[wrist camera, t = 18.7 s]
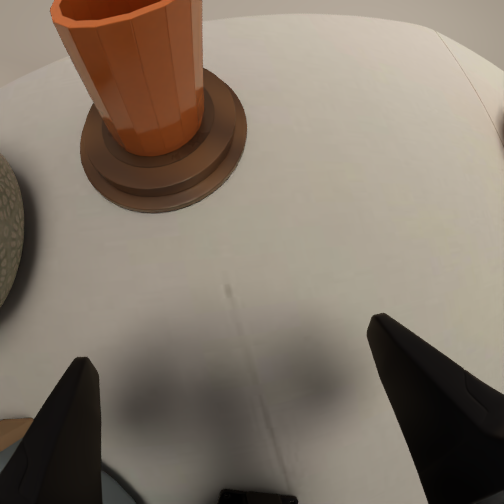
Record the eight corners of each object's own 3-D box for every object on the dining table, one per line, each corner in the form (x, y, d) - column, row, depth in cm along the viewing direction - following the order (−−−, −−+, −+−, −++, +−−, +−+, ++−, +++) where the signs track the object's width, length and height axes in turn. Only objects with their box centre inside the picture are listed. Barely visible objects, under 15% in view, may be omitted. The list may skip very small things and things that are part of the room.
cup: (223, 107, 22) (234, -32, 10) (158, 175, 21) (107, 46, 8) (156, 68, 22) (135, -56, 10) (93, 127, 21) (28, 11, 9)
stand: (219, 233, 23) (220, 224, 21) (59, 192, 22) (45, 181, 20) (262, 87, 26) (267, 69, 23) (122, 63, 25) (117, 46, 22)
